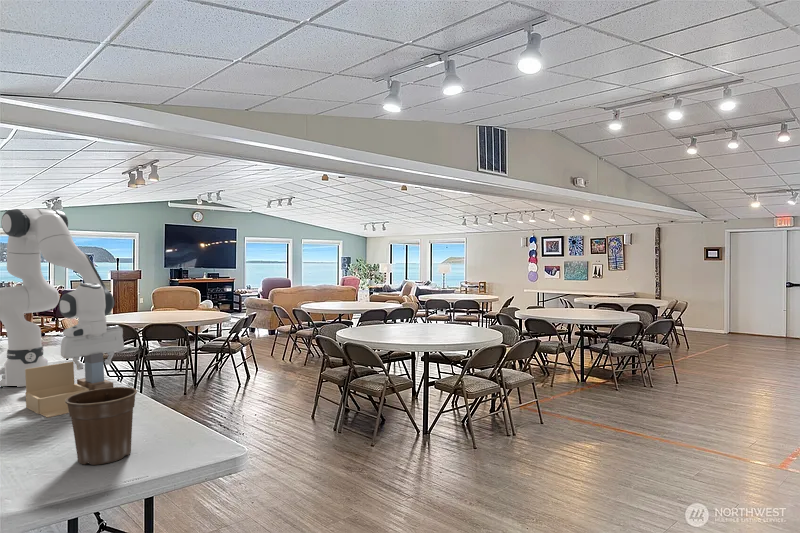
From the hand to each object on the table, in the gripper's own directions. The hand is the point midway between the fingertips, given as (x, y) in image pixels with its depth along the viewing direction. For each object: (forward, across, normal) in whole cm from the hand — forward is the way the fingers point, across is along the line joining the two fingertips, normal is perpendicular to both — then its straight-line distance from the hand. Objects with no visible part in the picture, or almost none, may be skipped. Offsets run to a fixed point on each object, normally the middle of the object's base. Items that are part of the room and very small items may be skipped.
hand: (94, 366), depth 199 cm
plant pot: (+11, +22, +62) cm, 67 cm away
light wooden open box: (+11, +12, +3) cm, 17 cm away
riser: (+11, 0, 0) cm, 11 cm away
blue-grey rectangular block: (+5, 0, 0) cm, 5 cm away
